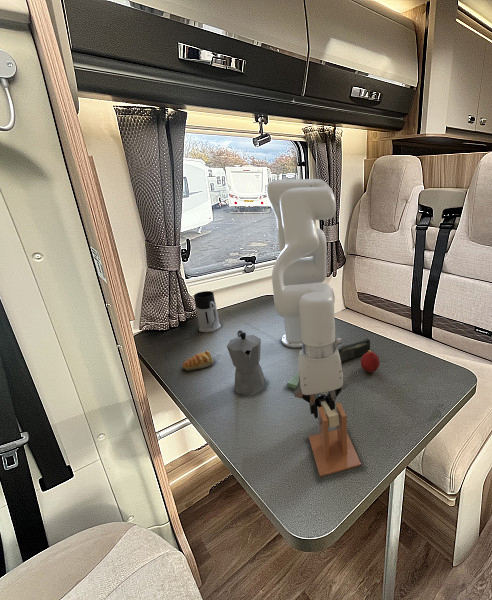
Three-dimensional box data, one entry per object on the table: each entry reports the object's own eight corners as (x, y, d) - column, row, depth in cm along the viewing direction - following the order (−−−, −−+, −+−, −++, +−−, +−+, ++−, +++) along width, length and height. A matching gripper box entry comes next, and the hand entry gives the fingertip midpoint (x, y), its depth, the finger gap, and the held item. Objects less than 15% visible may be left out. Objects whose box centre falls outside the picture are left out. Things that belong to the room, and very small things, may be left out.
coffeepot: (271, 394, 91) (264, 339, 84) (237, 404, 87) (228, 347, 81) (260, 367, 104) (253, 318, 98) (230, 375, 100) (221, 324, 94)
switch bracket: (308, 440, 75) (305, 399, 70) (345, 431, 77) (344, 391, 73) (320, 480, 65) (317, 435, 60) (361, 468, 67) (361, 424, 63)
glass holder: (215, 321, 140) (209, 289, 134) (230, 331, 130) (224, 297, 125) (195, 327, 134) (188, 294, 129) (209, 338, 124) (202, 303, 119)
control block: (308, 369, 102) (307, 359, 101) (332, 377, 98) (331, 366, 97) (287, 388, 93) (286, 377, 92) (313, 397, 89) (312, 385, 88)
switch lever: (314, 406, 78) (313, 393, 78) (327, 403, 79) (325, 391, 79) (327, 430, 66) (325, 415, 65) (342, 426, 66) (340, 412, 66)
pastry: (186, 374, 101) (184, 364, 100) (180, 366, 106) (178, 356, 105) (215, 364, 107) (213, 354, 105) (209, 356, 112) (207, 346, 110)
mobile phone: (366, 336, 112) (331, 348, 104) (372, 339, 110) (337, 352, 102) (366, 348, 114) (332, 361, 106) (371, 352, 112) (337, 365, 104)
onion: (368, 365, 104) (369, 343, 101) (382, 372, 100) (383, 349, 97) (357, 372, 100) (356, 350, 97) (371, 380, 96) (371, 357, 93)
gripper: (348, 334, 77) (349, 397, 83) (280, 345, 73) (287, 410, 79) (358, 348, 70) (359, 415, 76) (285, 361, 66) (292, 431, 72)
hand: (322, 412), depth 78 cm, fingers closed on switch lever, 3 cm apart
